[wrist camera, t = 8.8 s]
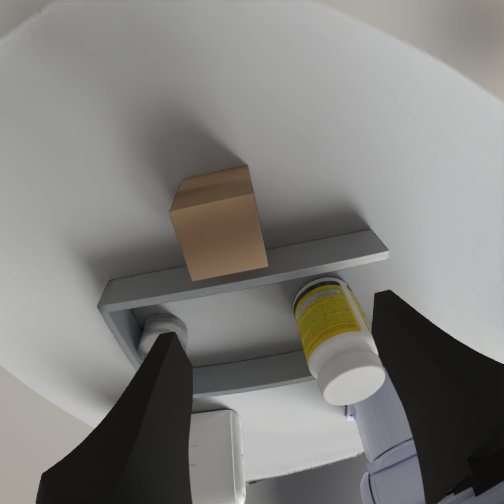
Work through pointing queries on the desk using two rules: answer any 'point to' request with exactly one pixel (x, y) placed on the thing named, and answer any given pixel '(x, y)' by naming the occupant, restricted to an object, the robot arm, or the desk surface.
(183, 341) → the metal cylinder
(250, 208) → the walnut block
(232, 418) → the photo printer
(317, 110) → the desk surface
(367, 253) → the bay
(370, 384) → the supplement bottle
